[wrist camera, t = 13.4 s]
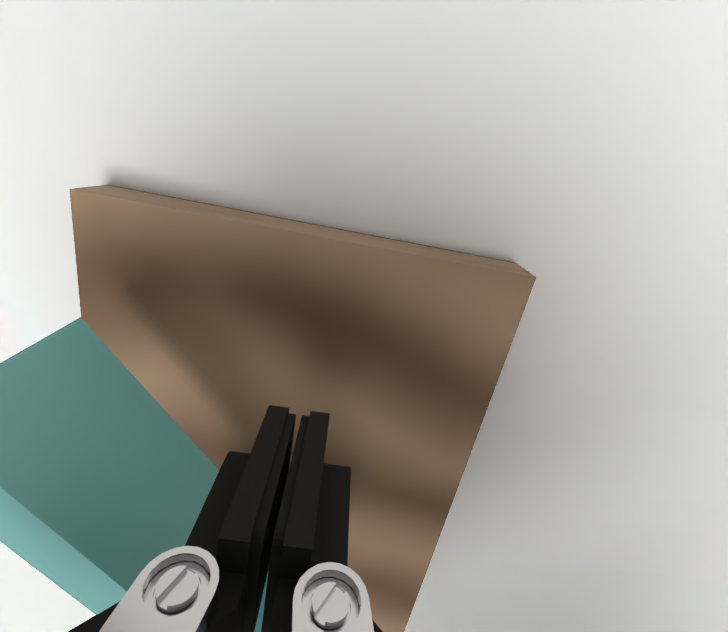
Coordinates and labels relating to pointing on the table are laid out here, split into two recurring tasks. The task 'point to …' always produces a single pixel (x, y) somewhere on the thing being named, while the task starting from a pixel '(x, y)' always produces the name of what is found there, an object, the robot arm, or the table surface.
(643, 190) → the table surface
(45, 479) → the teal lever handle
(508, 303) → the post block
